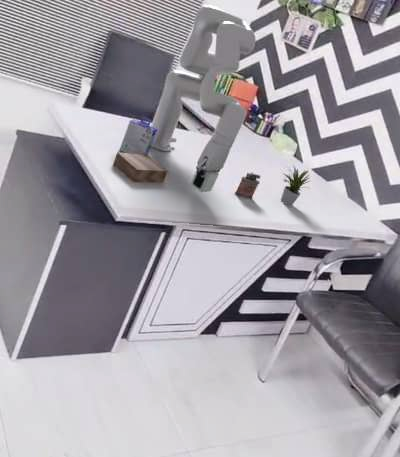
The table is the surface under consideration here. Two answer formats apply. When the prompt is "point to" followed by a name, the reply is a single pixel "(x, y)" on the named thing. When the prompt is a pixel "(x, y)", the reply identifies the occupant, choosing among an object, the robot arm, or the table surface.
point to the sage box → (207, 181)
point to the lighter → (247, 186)
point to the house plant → (293, 187)
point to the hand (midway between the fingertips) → (202, 184)
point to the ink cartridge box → (138, 137)
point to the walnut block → (140, 167)
